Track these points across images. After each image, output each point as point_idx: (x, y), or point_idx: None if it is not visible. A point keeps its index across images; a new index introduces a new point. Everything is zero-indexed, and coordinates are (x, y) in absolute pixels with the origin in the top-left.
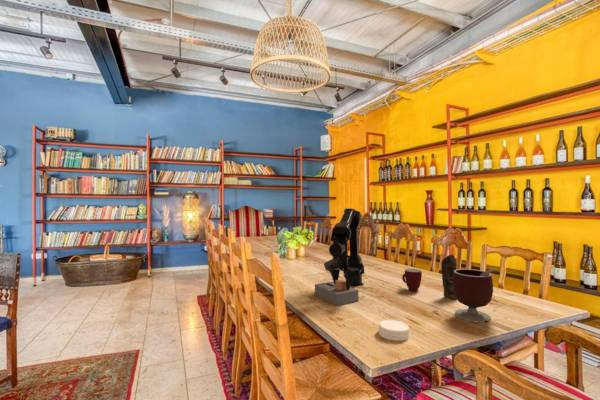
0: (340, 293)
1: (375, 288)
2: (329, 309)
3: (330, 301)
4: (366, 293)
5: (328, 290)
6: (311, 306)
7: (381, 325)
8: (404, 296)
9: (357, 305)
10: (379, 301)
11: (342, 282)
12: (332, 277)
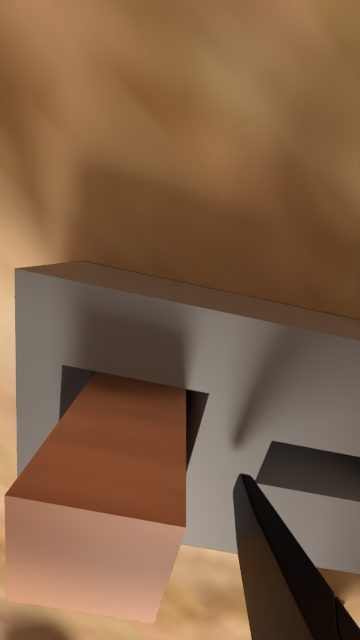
0: (15, 326)
1: (173, 621)
2: (44, 136)
3: (167, 280)
4: None
5: (203, 308)
6: (213, 44)
7: None
8: (2, 609)
9: (8, 375)
10: (2, 503)
11: (10, 519)
12: (335, 605)
